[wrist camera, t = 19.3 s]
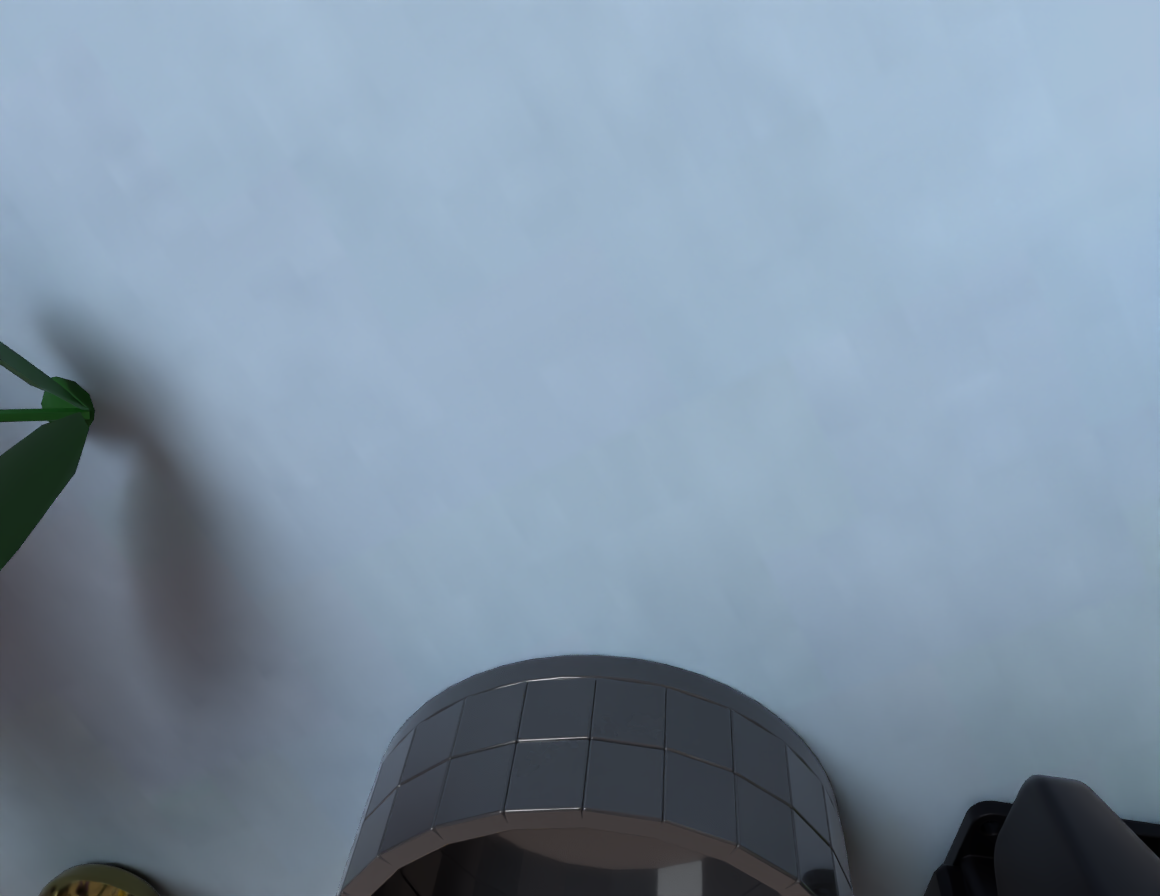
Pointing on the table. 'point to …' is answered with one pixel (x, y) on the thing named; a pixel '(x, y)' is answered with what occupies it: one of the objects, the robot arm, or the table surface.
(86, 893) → the cup
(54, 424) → the flower
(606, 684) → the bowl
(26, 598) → the table surface
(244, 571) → the table surface
